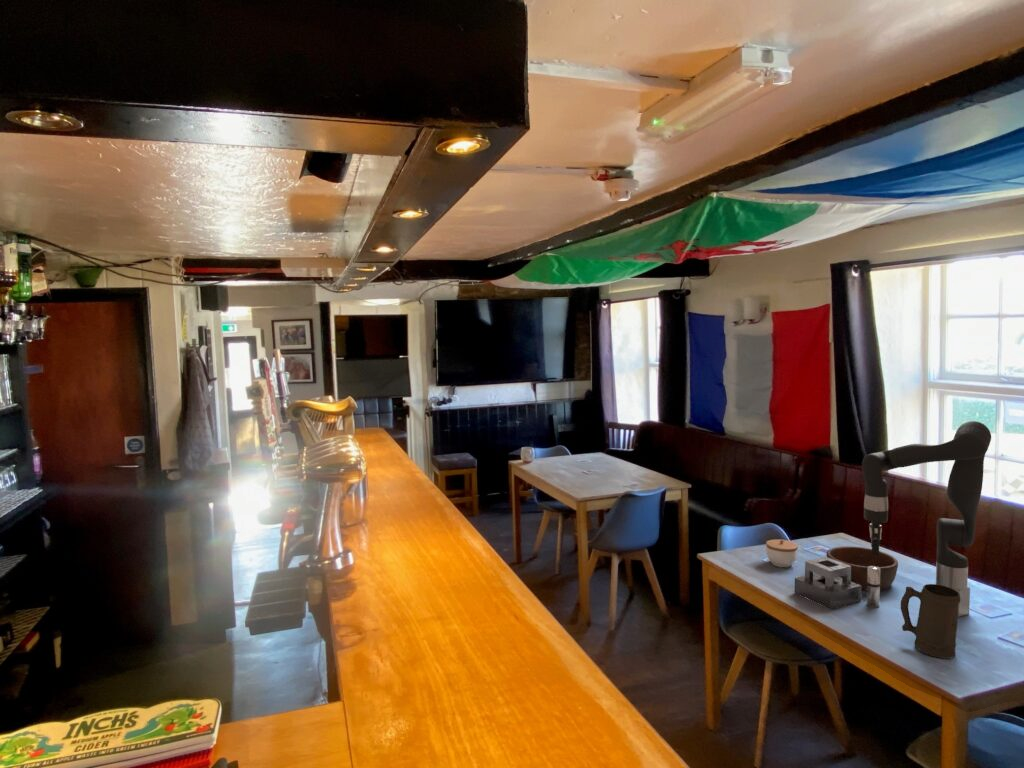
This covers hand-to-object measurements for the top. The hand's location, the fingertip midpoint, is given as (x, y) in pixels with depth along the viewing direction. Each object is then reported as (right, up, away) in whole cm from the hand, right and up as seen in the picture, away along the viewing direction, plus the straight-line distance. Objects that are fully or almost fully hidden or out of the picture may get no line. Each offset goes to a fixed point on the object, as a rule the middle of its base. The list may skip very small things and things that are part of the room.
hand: (874, 551), depth 226 cm
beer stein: (-1, -23, -30) cm, 38 cm away
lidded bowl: (-15, -18, +43) cm, 49 cm away
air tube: (0, -20, +2) cm, 20 cm away
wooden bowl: (+8, -19, +24) cm, 31 cm away
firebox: (-13, -20, +9) cm, 25 cm away
